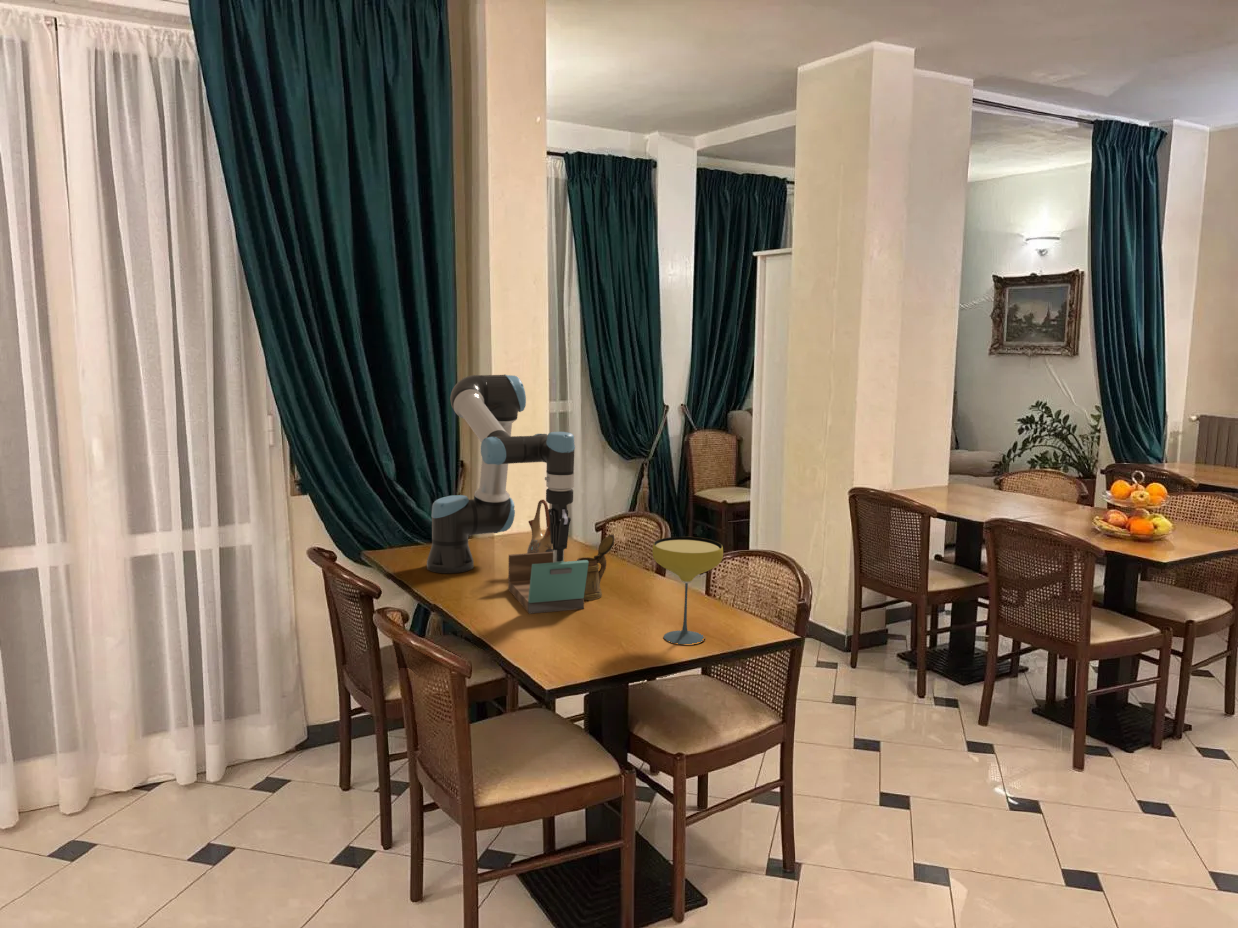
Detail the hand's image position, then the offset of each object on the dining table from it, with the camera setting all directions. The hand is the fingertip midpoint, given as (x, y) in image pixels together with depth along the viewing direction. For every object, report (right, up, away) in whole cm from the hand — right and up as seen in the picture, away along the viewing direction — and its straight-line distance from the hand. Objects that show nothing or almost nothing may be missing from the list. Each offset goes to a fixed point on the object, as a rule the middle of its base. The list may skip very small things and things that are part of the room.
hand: (558, 571), depth 253 cm
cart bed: (-5, -10, +14) cm, 18 cm away
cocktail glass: (+34, -16, -17) cm, 41 cm away
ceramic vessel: (-8, -6, +37) cm, 39 cm away
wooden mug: (+9, -9, +19) cm, 23 cm away
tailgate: (-1, -8, +2) cm, 9 cm away
